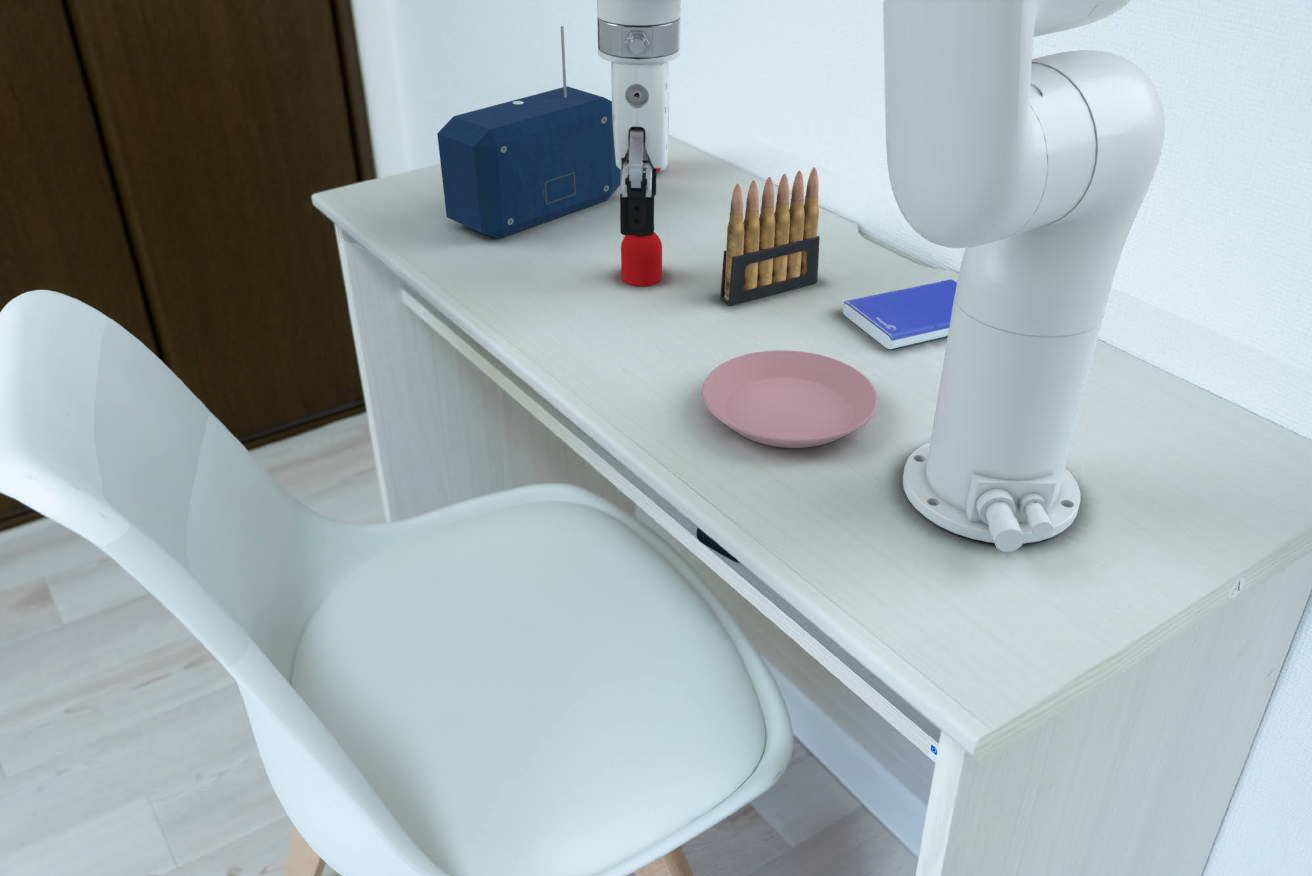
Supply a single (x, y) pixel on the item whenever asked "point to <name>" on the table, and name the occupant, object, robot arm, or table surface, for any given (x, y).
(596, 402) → the table surface
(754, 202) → the ammunition clip
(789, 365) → the plate
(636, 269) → the red jam jar
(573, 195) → the radio
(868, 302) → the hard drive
